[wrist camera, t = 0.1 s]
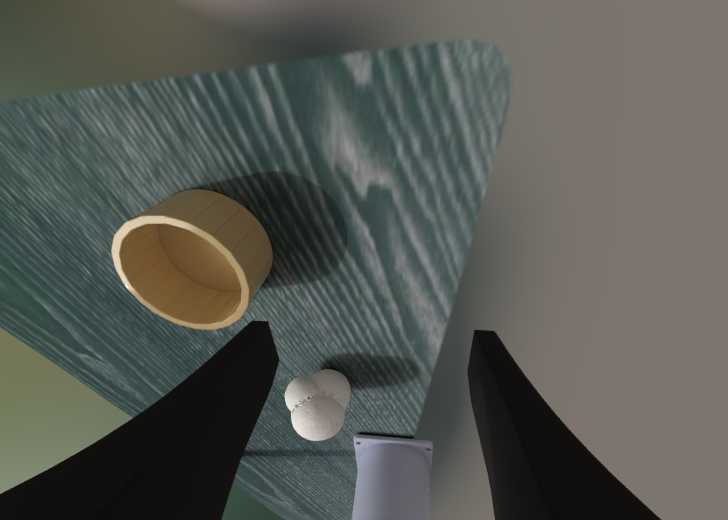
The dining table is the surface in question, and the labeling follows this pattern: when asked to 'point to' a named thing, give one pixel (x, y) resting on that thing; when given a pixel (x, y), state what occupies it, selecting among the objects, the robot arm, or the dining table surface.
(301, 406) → the microfossil shell
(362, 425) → the dining table surface
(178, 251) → the tumbler
